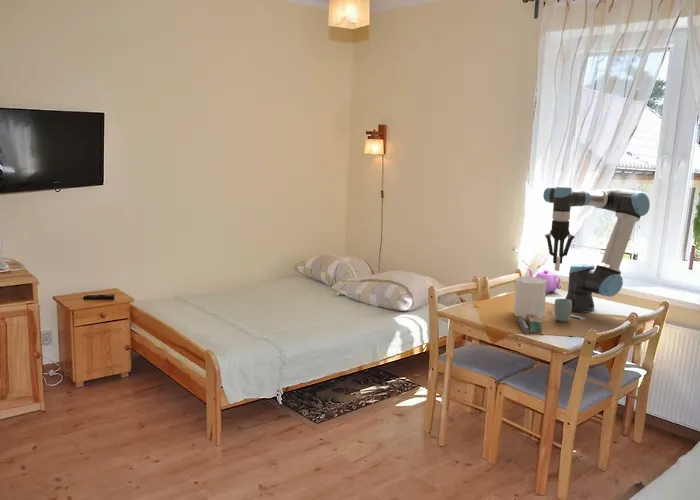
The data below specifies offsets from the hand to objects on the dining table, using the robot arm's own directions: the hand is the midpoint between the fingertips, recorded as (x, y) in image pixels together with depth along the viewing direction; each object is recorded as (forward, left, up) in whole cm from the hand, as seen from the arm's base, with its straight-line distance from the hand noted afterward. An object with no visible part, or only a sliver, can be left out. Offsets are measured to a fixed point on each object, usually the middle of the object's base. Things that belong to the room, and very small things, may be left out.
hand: (556, 270), depth 285 cm
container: (+8, -15, -27) cm, 32 cm away
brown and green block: (+10, +13, -24) cm, 29 cm away
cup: (-6, -7, -27) cm, 28 cm away
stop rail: (+15, +7, -26) cm, 31 cm away
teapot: (-9, -63, -27) cm, 69 cm away
